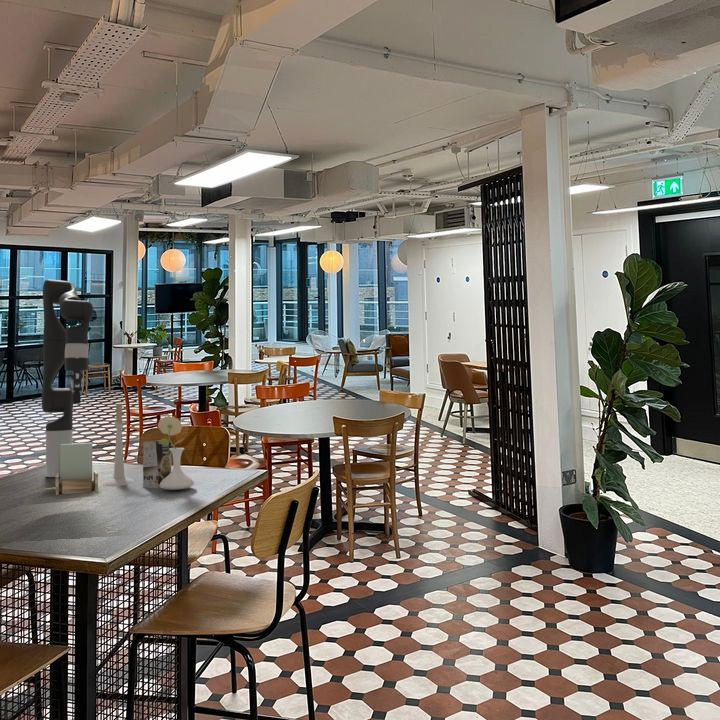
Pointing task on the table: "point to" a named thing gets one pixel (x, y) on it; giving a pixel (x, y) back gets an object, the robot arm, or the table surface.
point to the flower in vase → (174, 456)
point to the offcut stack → (76, 485)
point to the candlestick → (118, 454)
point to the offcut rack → (94, 483)
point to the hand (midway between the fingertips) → (76, 403)
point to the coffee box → (155, 463)
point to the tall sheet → (75, 461)
